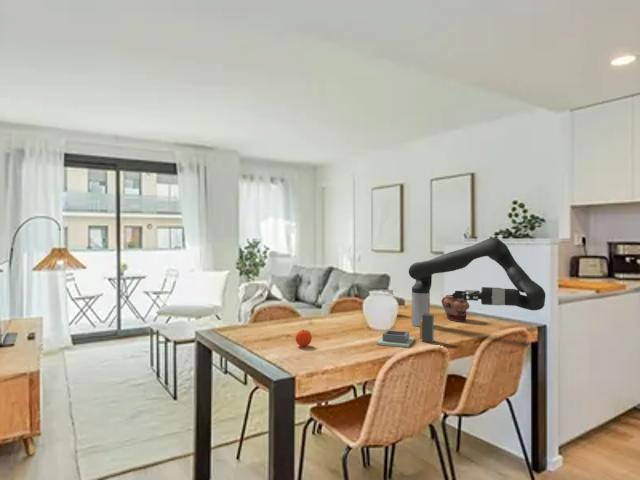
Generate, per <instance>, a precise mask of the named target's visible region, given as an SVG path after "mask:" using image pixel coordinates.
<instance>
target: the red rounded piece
mask: <svg viewBox="0 0 640 480" xmlns="http://www.w3.org/2000/svg"><path fill="white" fill-rule="evenodd" d="M295 342H296V344H297V345H299V346H300V347H307V346H309V345H310V344H311V342H312V334H311V331H310V330H308V329H301V330H299V331H298V332H297V333H296V335H295Z"/></svg>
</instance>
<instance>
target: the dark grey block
mask: <svg viewBox="0 0 640 480" xmlns="http://www.w3.org/2000/svg"><path fill="white" fill-rule="evenodd" d="M434 315H435V314H434V313H430V314H423V315H422V320H421V321H420V326H419V339H420V340H422V341H421V342H422V343H431V344H432V343H433V342H434V340H435V339H434V336H435V335H434V333H435V331H434V330H435V329H434V326H435V324H434V322H435V318H434Z"/></svg>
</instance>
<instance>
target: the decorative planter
mask: <svg viewBox="0 0 640 480" xmlns="http://www.w3.org/2000/svg"><path fill="white" fill-rule="evenodd" d="M441 305H442V308H443V310H444V312H445V315H446V319H448V320H449V321H456V322H460V321H461V322H463V321H466V319H467V310H469V308H470V304H469V302H468V300H463V299H457V298H453V294H446V295H445V296H443V297H442V298H441Z"/></svg>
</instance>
